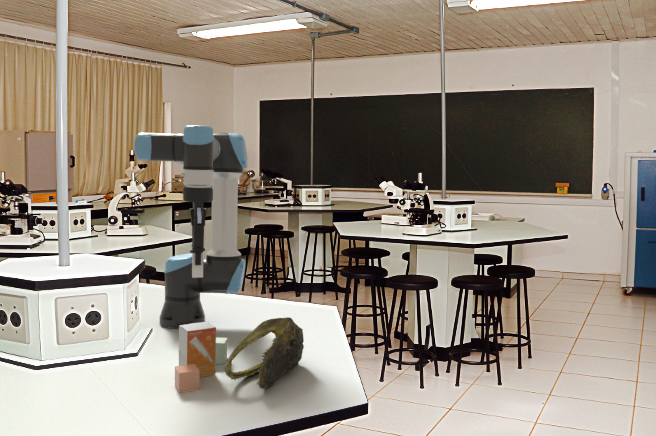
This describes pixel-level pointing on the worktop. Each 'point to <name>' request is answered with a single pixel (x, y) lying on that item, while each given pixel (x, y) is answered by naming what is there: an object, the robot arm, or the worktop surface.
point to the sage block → (221, 350)
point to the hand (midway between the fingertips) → (197, 276)
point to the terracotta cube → (186, 378)
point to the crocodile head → (271, 351)
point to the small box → (198, 347)
